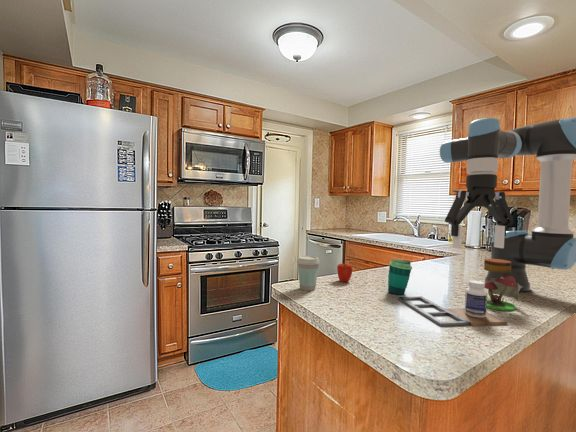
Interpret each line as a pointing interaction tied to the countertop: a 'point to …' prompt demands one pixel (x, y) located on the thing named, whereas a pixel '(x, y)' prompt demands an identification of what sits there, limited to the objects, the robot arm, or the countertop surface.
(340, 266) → the red bell pepper
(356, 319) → the countertop surface
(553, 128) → the robot arm
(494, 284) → the mushroom toy
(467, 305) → the pill bottle
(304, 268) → the coffee cup
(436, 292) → the countertop surface
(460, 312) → the coaster
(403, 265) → the cup
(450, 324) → the gray rectangular frame
